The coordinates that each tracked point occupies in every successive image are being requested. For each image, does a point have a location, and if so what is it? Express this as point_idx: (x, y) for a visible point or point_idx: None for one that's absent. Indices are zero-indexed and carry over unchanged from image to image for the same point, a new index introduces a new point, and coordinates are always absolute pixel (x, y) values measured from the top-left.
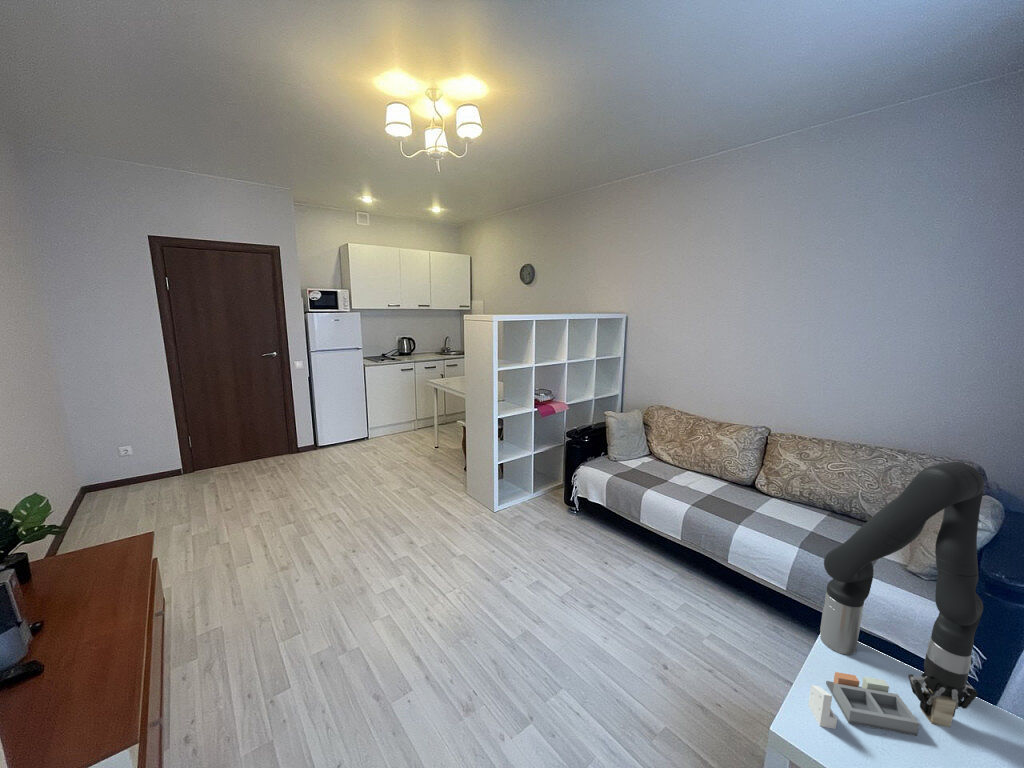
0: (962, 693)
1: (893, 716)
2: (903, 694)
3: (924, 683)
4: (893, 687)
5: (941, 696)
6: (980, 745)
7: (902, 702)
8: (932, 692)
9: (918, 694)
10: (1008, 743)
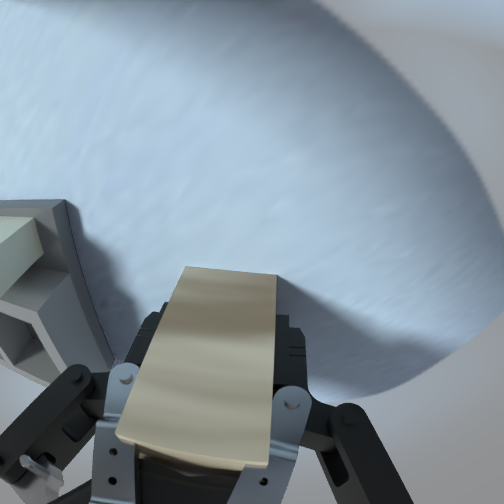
0: (352, 497)
1: (32, 376)
2: (144, 178)
3: (93, 454)
4: (113, 134)
5: (187, 474)
6: (322, 379)
7: (51, 348)
8: (141, 458)
9: (69, 428)
10: (432, 357)
